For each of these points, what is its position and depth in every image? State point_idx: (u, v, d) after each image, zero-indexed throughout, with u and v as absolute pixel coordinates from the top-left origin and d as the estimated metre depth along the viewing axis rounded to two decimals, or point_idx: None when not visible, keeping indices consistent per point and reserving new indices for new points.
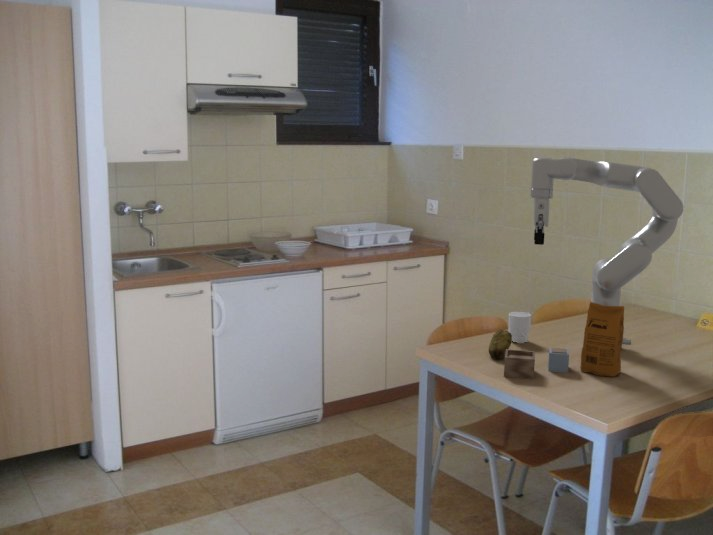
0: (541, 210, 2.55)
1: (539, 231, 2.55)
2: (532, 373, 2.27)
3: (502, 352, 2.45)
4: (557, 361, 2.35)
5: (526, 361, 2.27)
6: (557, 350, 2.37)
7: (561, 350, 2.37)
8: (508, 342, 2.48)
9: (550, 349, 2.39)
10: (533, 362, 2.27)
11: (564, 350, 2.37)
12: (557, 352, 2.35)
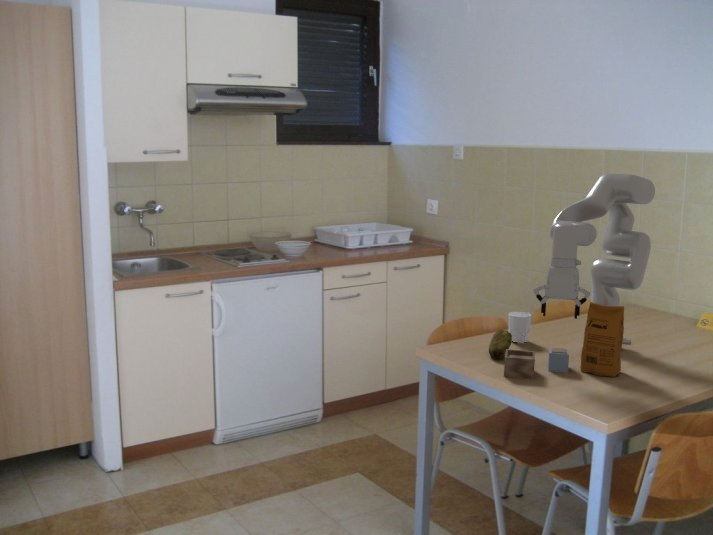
0: None
1: (582, 303, 2.33)
2: (532, 373, 2.27)
3: (502, 352, 2.45)
4: (557, 361, 2.35)
5: (526, 361, 2.27)
6: (557, 350, 2.37)
7: (561, 350, 2.37)
8: (508, 342, 2.48)
9: (550, 349, 2.39)
10: (533, 362, 2.27)
11: (564, 350, 2.37)
12: (557, 352, 2.35)
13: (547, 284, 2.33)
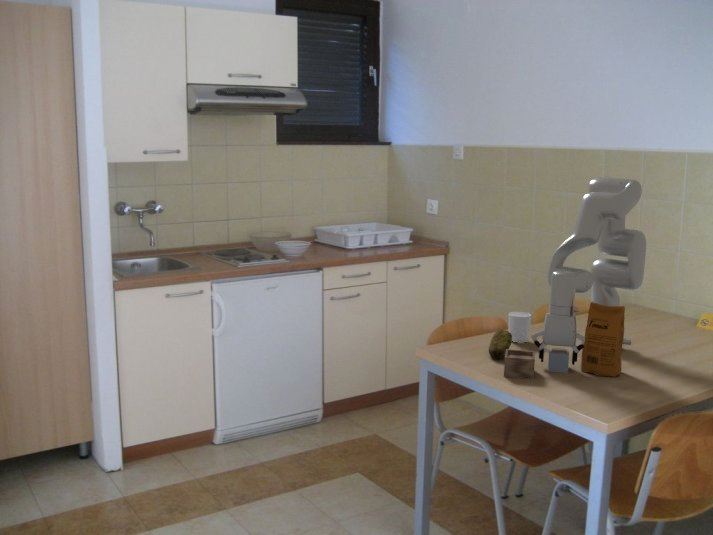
0: None
1: None
2: (532, 373, 2.27)
3: (502, 352, 2.45)
4: (557, 361, 2.35)
5: (526, 361, 2.27)
6: (557, 350, 2.37)
7: (561, 350, 2.37)
8: (508, 342, 2.48)
9: (550, 349, 2.39)
10: (533, 362, 2.27)
11: (564, 350, 2.37)
12: (557, 352, 2.35)
13: (545, 331, 2.35)
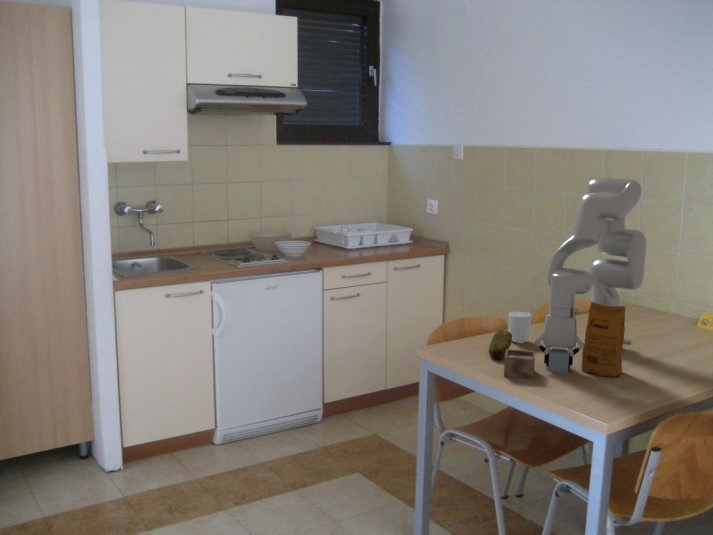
0: (576, 329, 2.35)
1: None
2: (532, 373, 2.27)
3: (502, 352, 2.45)
4: (557, 361, 2.35)
5: (526, 361, 2.27)
6: (557, 350, 2.37)
7: (561, 349, 2.37)
8: (508, 342, 2.48)
9: (550, 349, 2.39)
10: (533, 362, 2.27)
11: (564, 350, 2.37)
12: (557, 352, 2.35)
13: (545, 332, 2.35)
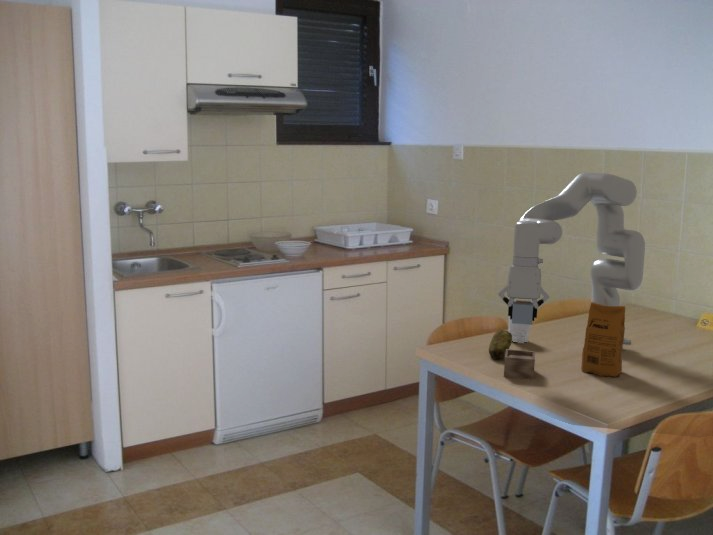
0: None
1: (539, 305, 2.28)
2: (532, 373, 2.27)
3: (502, 352, 2.45)
4: (520, 313, 2.27)
5: (526, 361, 2.27)
6: (521, 301, 2.29)
7: (525, 301, 2.29)
8: (508, 342, 2.48)
9: (514, 301, 2.31)
10: (533, 362, 2.27)
11: (528, 302, 2.29)
12: (521, 303, 2.27)
13: (509, 283, 2.27)
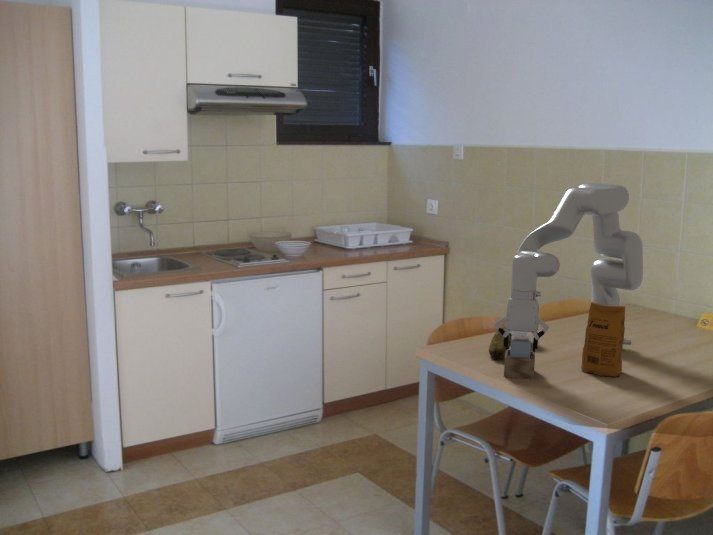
0: None
1: None
2: (532, 373, 2.27)
3: (502, 352, 2.45)
4: (518, 350, 2.29)
5: (526, 361, 2.27)
6: (519, 338, 2.31)
7: (523, 338, 2.31)
8: (508, 342, 2.48)
9: (512, 337, 2.33)
10: (533, 362, 2.27)
11: (526, 338, 2.31)
12: (519, 340, 2.29)
13: (507, 316, 2.29)
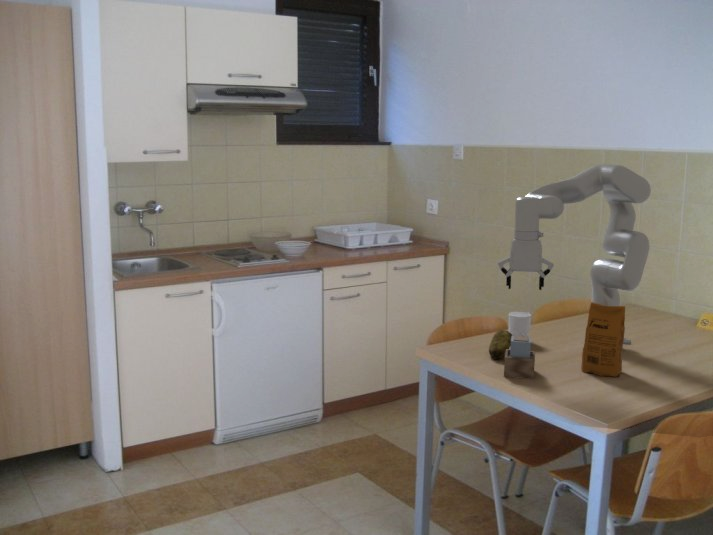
0: None
1: None
2: (532, 373, 2.27)
3: (502, 352, 2.45)
4: (518, 350, 2.29)
5: (526, 361, 2.27)
6: (519, 338, 2.31)
7: (523, 338, 2.31)
8: (508, 342, 2.48)
9: (512, 337, 2.33)
10: (533, 362, 2.27)
11: (526, 338, 2.31)
12: (519, 340, 2.29)
13: (511, 257, 2.36)
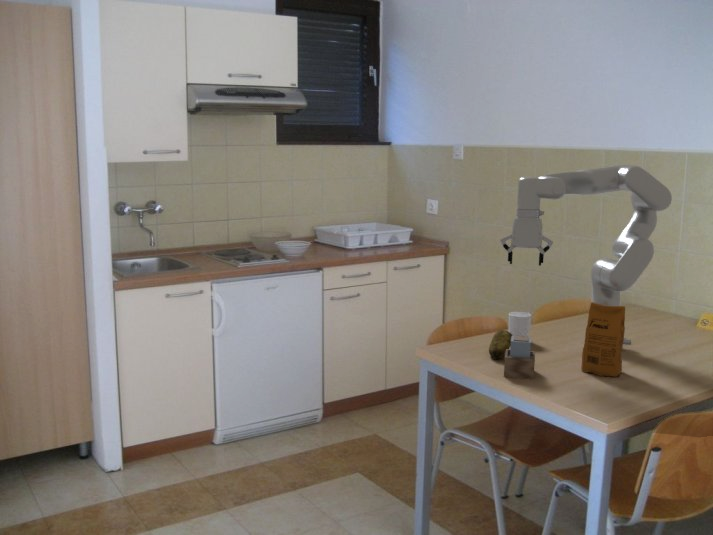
0: None
1: (545, 251, 2.50)
2: (532, 373, 2.27)
3: (502, 352, 2.45)
4: (518, 350, 2.29)
5: (526, 361, 2.27)
6: (519, 338, 2.31)
7: (523, 338, 2.31)
8: (508, 342, 2.48)
9: (512, 337, 2.33)
10: (533, 362, 2.27)
11: (526, 338, 2.31)
12: (519, 340, 2.29)
13: (513, 234, 2.50)
